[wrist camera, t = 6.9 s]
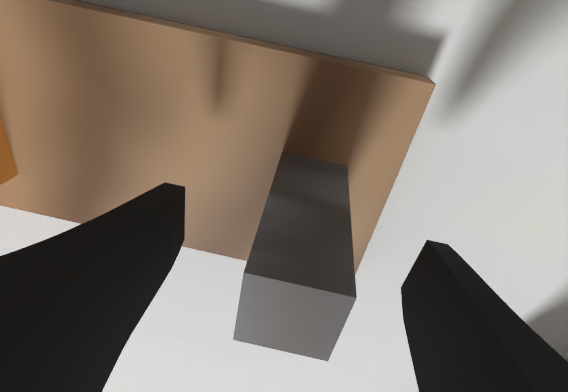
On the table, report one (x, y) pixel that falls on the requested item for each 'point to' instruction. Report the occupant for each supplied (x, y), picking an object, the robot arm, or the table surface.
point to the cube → (6, 158)
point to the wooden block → (211, 148)
